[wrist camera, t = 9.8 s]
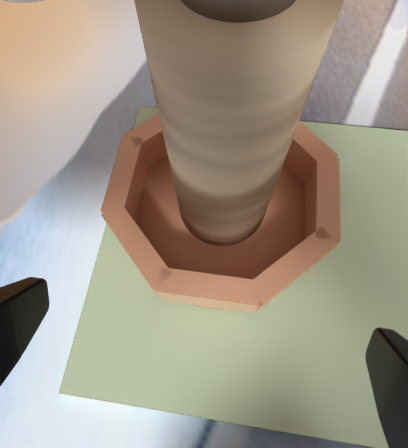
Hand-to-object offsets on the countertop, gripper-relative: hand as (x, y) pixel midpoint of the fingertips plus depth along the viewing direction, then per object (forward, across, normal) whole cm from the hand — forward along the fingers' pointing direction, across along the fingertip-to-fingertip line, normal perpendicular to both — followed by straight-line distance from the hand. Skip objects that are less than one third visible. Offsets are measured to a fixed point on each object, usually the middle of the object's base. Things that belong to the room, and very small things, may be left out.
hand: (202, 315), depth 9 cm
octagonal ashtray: (+12, 0, +1) cm, 12 cm away
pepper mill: (+12, 0, +1) cm, 12 cm away
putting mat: (+11, -7, +3) cm, 13 cm away
